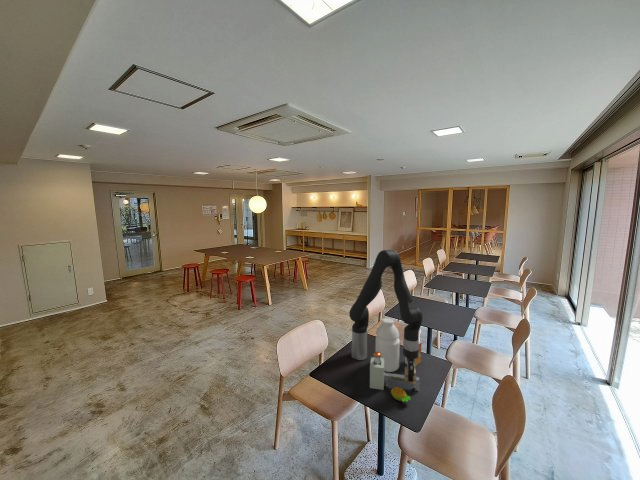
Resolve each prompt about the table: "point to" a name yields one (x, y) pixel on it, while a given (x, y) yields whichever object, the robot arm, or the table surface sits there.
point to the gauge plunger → (377, 357)
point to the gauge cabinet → (377, 374)
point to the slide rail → (398, 379)
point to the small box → (418, 356)
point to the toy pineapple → (400, 394)
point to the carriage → (407, 376)
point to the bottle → (388, 344)
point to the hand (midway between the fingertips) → (410, 377)
